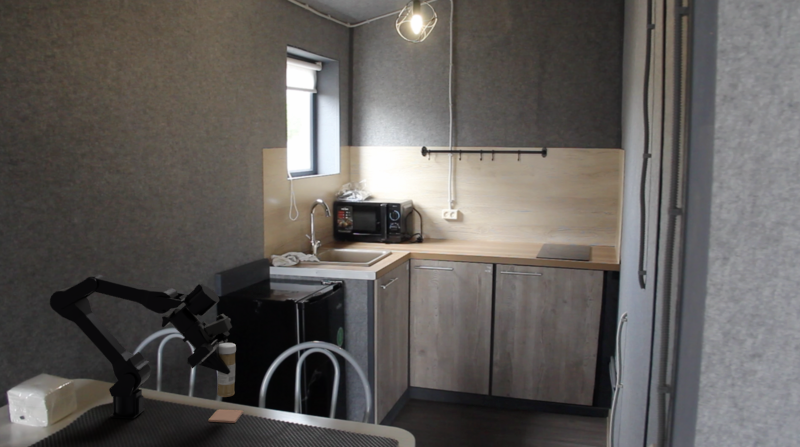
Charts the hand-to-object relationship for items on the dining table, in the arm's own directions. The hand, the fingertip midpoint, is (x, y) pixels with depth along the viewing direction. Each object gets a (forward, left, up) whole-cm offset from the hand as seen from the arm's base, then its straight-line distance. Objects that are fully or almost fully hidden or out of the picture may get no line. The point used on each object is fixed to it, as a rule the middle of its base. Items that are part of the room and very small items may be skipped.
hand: (231, 370), depth 157 cm
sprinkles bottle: (-1, 0, -7) cm, 7 cm away
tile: (-1, 0, -13) cm, 13 cm away
